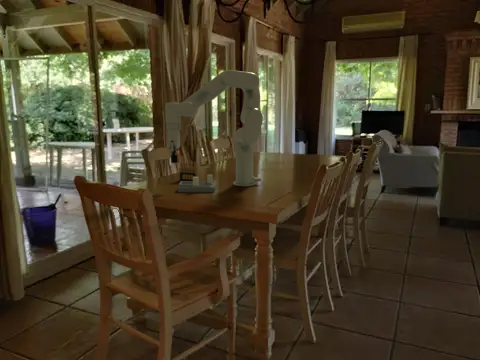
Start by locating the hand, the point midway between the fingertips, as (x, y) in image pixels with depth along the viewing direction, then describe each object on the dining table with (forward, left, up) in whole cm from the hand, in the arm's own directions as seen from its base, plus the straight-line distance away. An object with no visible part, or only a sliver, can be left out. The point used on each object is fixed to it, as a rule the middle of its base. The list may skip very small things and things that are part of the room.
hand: (175, 161), depth 212 cm
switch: (-11, +5, -12) cm, 17 cm away
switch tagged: (-18, -1, -12) cm, 22 cm away
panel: (-12, +1, -15) cm, 19 cm away
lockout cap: (0, 0, -1) cm, 1 cm away
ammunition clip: (-3, -23, -15) cm, 27 cm away
